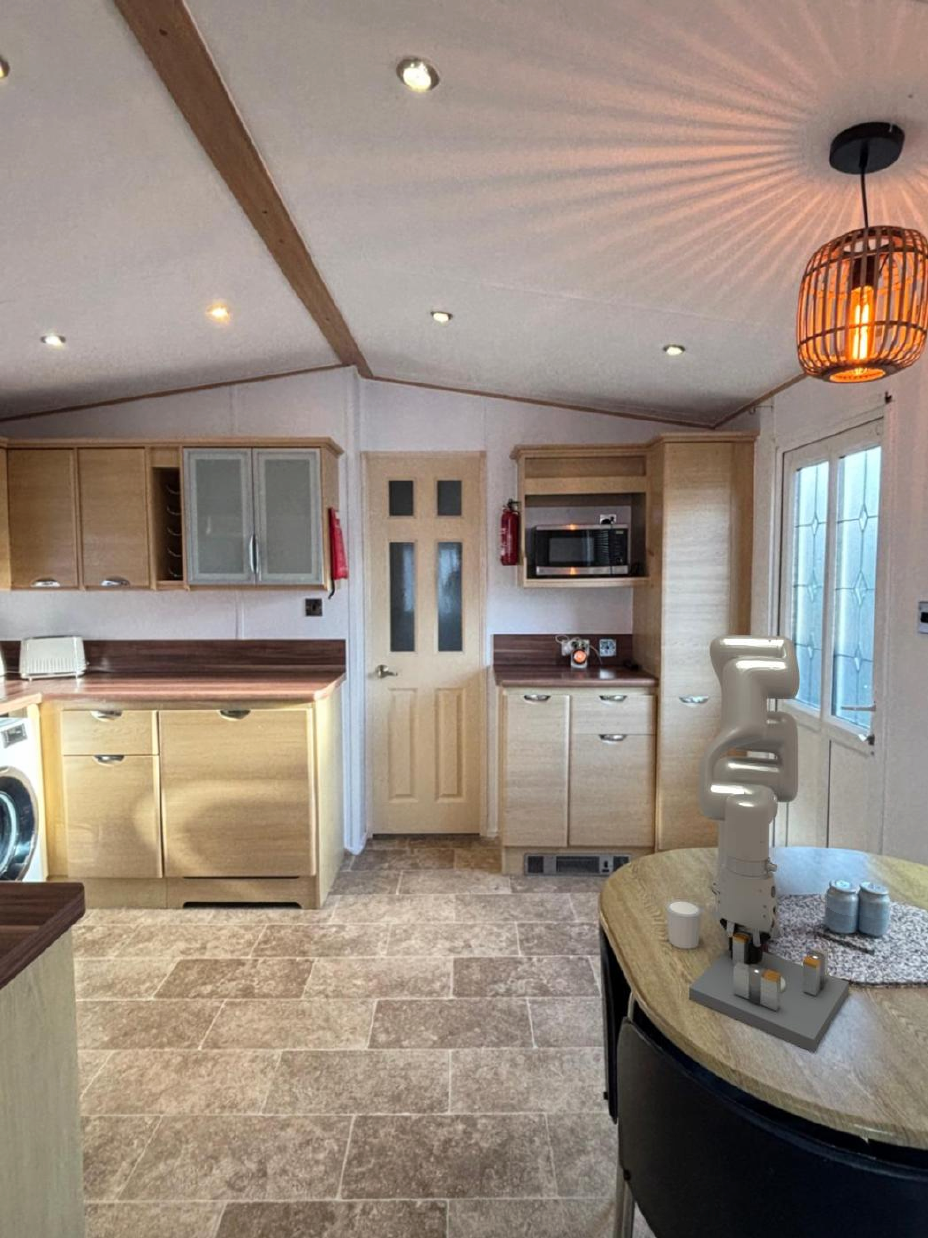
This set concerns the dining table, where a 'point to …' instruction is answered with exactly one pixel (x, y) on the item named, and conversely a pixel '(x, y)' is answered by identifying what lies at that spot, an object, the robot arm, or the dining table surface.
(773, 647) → the robot arm
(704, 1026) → the dining table surface
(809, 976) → the grey blocks with cylinder
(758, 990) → the grey blocks with cylinder
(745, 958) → the grey upright block
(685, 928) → the white cylinder
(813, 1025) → the plate
